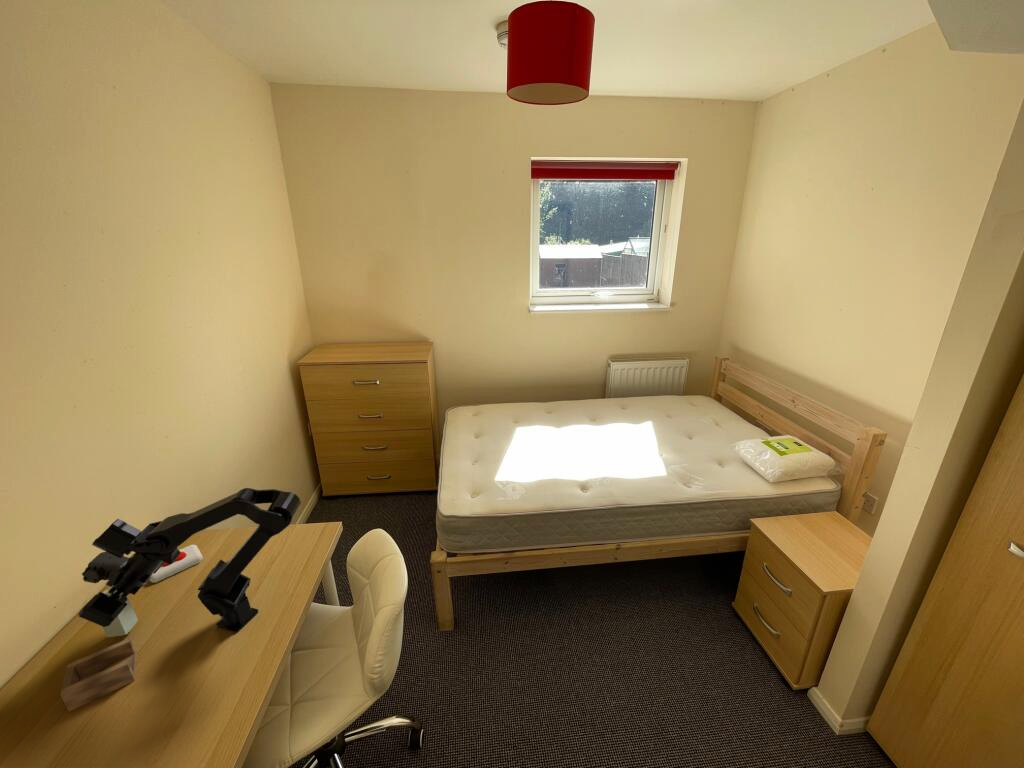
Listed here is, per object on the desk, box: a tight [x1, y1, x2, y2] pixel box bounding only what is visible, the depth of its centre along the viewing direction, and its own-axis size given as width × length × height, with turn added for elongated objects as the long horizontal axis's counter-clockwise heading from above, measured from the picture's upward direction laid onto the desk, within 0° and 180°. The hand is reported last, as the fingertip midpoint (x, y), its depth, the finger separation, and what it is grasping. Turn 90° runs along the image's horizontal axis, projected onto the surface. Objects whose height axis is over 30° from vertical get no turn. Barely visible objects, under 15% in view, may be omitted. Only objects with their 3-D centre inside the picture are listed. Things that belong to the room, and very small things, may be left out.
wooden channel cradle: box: [59, 637, 137, 713], centre depth 89 cm, size 10×8×5 cm
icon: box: [148, 544, 204, 584], centre depth 122 cm, size 12×4×10 cm
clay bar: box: [101, 589, 139, 638], centre depth 98 cm, size 4×4×10 cm
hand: (106, 607), depth 98 cm, fingers closed on clay bar, 4 cm apart
